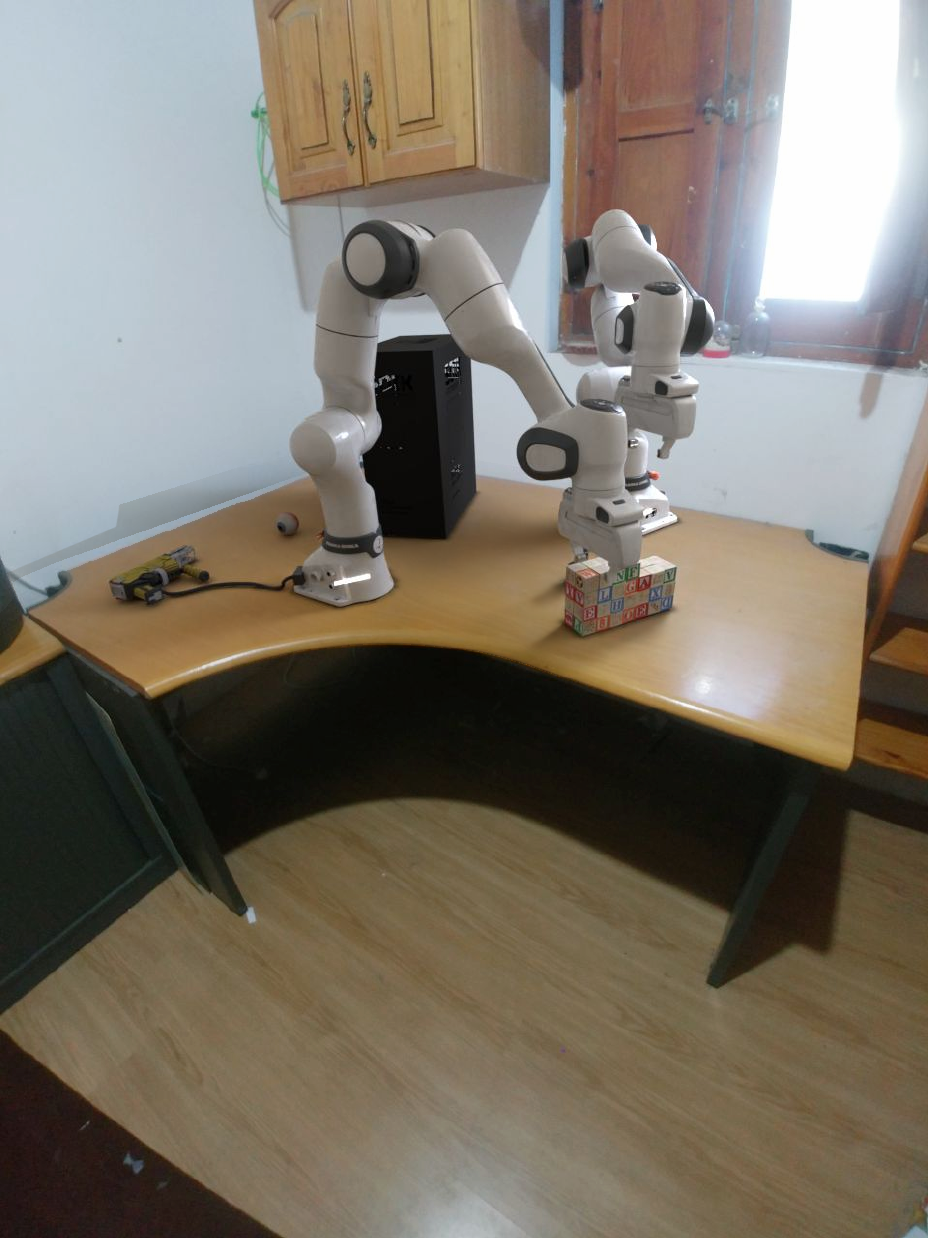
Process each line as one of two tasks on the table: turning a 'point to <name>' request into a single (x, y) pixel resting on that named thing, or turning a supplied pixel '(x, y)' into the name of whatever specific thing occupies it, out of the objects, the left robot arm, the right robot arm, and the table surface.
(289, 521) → the eyeball
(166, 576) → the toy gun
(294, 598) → the table surface
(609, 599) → the stack of blocks
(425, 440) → the black computer case
